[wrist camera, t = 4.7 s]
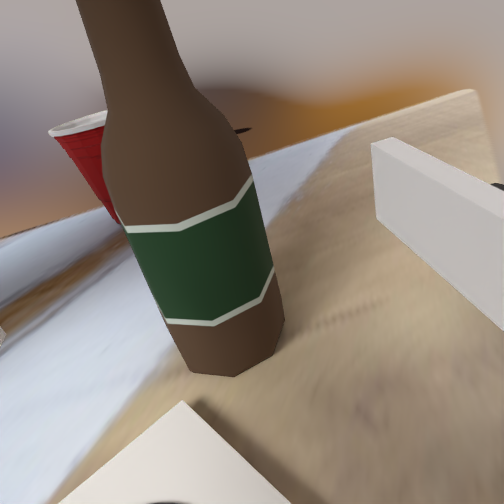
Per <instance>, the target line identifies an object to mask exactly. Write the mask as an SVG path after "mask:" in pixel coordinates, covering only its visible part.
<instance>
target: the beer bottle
mask: <svg viewBox="0 0 504 504" xmlns="http://www.w3.org/2000/svg"><path fill="white" fill-rule="evenodd" d="M76 2H77V6H78V8H79V11H80V15H81V18H82V21H83V24H84V27H85V30H86V33H87V36H88V39H89V42H90V45H91V48H92V51H93V54H94V57H95V60H96V63H97V66H98V69H99V72H100V76H101V80H102V85H103V89H104V94H105V99H106V103H107V108H108V111H107V116H106V121H105V127H104V132H103V137H102V142H101V158H102V173H103V179H104V181H105V184H106V187H107V190H108V193H109V196H110V198H111V201H112V204H113V207H114V209H115V212H116V214H117V216H118V218H119V221H120V223H121V225H122V227H123V230H124V232H125V234H126V236H127V239H128V241H129V243H130V245H131V248H132V250H133V252H134V254H135V257H136V259H137V261H138V263H139V266H140V268H141V270H142V272H143V275H144V277H145V279H146V281H147V284H148V286H149V288H150V290H151V293H152V295H153V297H154V299H155V302H156V304H157V306H158V308H159V311H160V313H161V315H162V317H163V320H164V322H165V324H166V326H167V328H168V330H169V332H170V334H171V336H172V338H173V340H174V341H175V343H176V345H177V347H178V349H179V351H180V353H181V355H182V357H183V359H184V360H185V362H186V364H187V366H188V368H189V370H190V371H192V372H193V373H201V374H210V375H219V376H228V377H235V376H237V375H238V374H240V373H242V372H244V371H245V370H247V369H249V368H251V367H253V366H254V365H256V364H258V363H260V362H262V361H263V360H265V359H267V358H269V357H271V356H272V355H273V352H274V349H275V347H276V344H277V341H278V338H279V335H280V332H281V329H282V326H283V323H284V320H285V318H284V312H283V306H282V299H281V295H280V291H279V287H278V282H277V278H276V274H275V270H274V266H273V261H272V257H271V253H270V249H269V244H268V240H267V236H266V232H265V227H264V223H263V219H262V215H261V211H260V206H259V202H258V198H257V194H256V189H255V185H254V181H253V177H252V173H251V170H250V167H249V164H248V161H247V158H246V155H245V151H244V148H243V145H242V142H241V141H240V139H239V138H238V136H237V135H236V133H235V131H234V130H233V128H232V127H231V126H230V124H229V122H228V121H227V119H226V118H225V116H224V115H223V114H222V113H221V112H220V111H219V110H218V109H217V108H216V107H215V106H214V105H213V104H211V103H210V102H209V101H208V100H207V99H206V98H205V97H204V96H203V95H202V94H201V93H200V92H199V91H197V89H195V87H194V86H193V83H192V81H191V79H190V77H189V75H188V72H187V70H186V68H185V66H184V64H183V62H182V60H181V58H180V56H179V53H178V50H177V47H176V44H175V41H174V39H173V36H172V33H171V30H170V27H169V25H168V21H167V19H166V16H165V13H164V10H163V7H162V4H161V2H160V0H76Z"/></svg>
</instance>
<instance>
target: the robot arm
mask: <svg viewBox="0 0 504 504" xmlns="http://www.w3.org/2000/svg"><path fill="white" fill-rule="evenodd" d="M371 156H372V169H373V182H374V195H375V209H376V219H377V220H378V221H380V222H381V223H382V224H383V225H384V226H385V227H386V228H387V229H389V230H390V231H391V232H392V233H393V234H394V235H395V236H396V237H398V238H399V239H400V240H401V241H402V242H403V243H404V244H405V245H407V246H408V247H409V248H410V249H411V250H412V251H413V252H415V253H416V254H417V255H418V256H419V257H420V258H421V259H422V260H424V261H425V262H426V263H427V264H428V265H429V266H430V267H431V268H433V269H434V270H435V271H436V272H437V273H438V274H439V275H440V276H442V277H443V278H444V279H445V280H446V281H447V282H448V283H449V284H451V285H452V286H453V287H454V288H455V289H456V290H457V291H459V292H460V293H461V294H462V295H463V296H464V297H465V298H466V299H468V300H469V301H470V302H471V303H472V304H473V305H474V306H475V307H477V308H478V309H479V310H480V311H481V312H482V313H483V314H484V315H486V316H487V317H488V318H489V319H490V320H491V321H492V322H494V323H495V324H496V325H497V326H498V327H499V328H500V329H501V330H503V331H504V185H503V184H498V183H494V184H488V183H486V182H484V181H482V180H480V179H478V178H476V177H474V176H472V175H470V174H468V173H466V172H464V171H462V170H460V169H458V168H456V167H454V166H452V165H449V164H447V163H445V162H443V161H441V160H439V159H437V158H435V157H433V156H431V155H429V154H427V153H425V152H423V151H421V150H419V149H417V148H415V147H413V146H411V145H409V144H407V143H405V142H403V141H401V140H399V139H397V138H395V137H390V138H387V139H384V140H380V141H377V142H374V143H371ZM5 336H6V333H5V332H4V330H3V329H2V328H1V326H0V347H1V345H2V343H3V340H4V338H5Z"/></svg>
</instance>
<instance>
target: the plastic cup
mask: <svg viewBox="0 0 504 504" xmlns="http://www.w3.org/2000/svg"><path fill="white" fill-rule="evenodd" d="M107 111H108V110H105V111H102V112H99V113H96V114H92V115H88V116H86V117H82V118H79V119H76V120H73V121H70V122H67V123H65V124H63V125H60V126H57V127H55V128H53V129H51V130H49V131H48V133H49V135H50V136H52V137H54V138H55V139H56V140H57V141H58V142H59V143H60V145H61V146H62V148H63V149H65V150H66V152H67V154H68V155H69V157H70V158H72V160H73V161H74V163H75V164H76V166H77V167H78V169H79V170H80V172H81V173H82V175H83V176H84V178H85V179H86V181H87V182H88V184H89V185H90V186H91V188H92V190H93V191H94V193H95V194H96V196H97V197H98V199H99V200H101V201H102V203H103V204H104V206H105V207H106V209H107V210H108V212H109V213H110V215H111V217H112V218H113V219H115V221H116V222H117V223H118V224H121V223H120V221H119V218H118V216H117V214H116V212H115V209H114V207H113V204H112V201H111V198H110V196H109V193H108V190H107V187H106V184H105V181H104V179H103V173H102V158H101V142H102V137H103V132H104V127H105V121H106V116H107Z"/></svg>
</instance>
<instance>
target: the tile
mask: <svg viewBox="0 0 504 504" xmlns="http://www.w3.org/2000/svg"><path fill="white" fill-rule="evenodd" d="M58 504H291V503H290V502H289V501H288V500H287V499H286V498H285V497H284V496H283V495H282V494H281V493H280V492H279V491H278V490H277V489H275V488H274V487H273V486H272V485H271V484H270V483H269V482H268V481H267V480H266V479H265V478H264V477H263V476H262V475H261V474H260V473H259V472H258V471H257V470H256V469H254V468H253V467H252V466H251V465H250V464H249V463H248V462H247V461H246V460H245V459H244V458H243V457H242V456H241V455H240V454H239V453H238V452H237V451H236V450H235V449H233V448H232V447H231V446H230V445H229V444H228V443H227V442H226V441H225V440H224V439H223V438H222V437H221V436H220V435H219V434H218V433H217V432H216V431H215V430H214V429H212V428H211V427H210V426H209V425H208V424H207V423H206V422H205V421H204V420H203V419H202V418H201V417H200V416H199V415H198V414H197V413H196V412H195V411H194V410H193V409H191V408H190V407H189V406H188V405H187V404H186V403H185V402H184V401H183V400H181V401H180V402H179V403H178V404H177V405H175V406H174V407H173V408H172V409H171V410H169V411H168V412H167V413H166V414H165V415H163V416H162V417H161V418H160V419H159V420H157V421H156V422H155V423H154V424H153V425H151V426H150V427H149V428H148V429H147V430H145V431H144V432H143V433H142V434H141V435H139V436H138V437H137V438H136V439H135V440H133V441H132V442H131V443H130V444H129V445H127V446H126V447H125V448H124V449H123V450H122V451H120V452H119V453H118V454H117V455H116V456H114V457H113V458H112V459H111V460H110V461H108V462H107V463H106V464H105V465H104V466H102V467H101V468H100V469H99V470H98V471H96V472H95V473H94V474H93V475H92V476H90V477H89V478H88V479H87V480H86V481H84V482H83V483H82V484H81V485H80V486H78V487H77V488H76V489H75V490H74V491H72V492H71V493H70V494H69V495H68V496H66V497H65V498H64V499H63V500H62V501H60V502H59V503H58Z"/></svg>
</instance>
